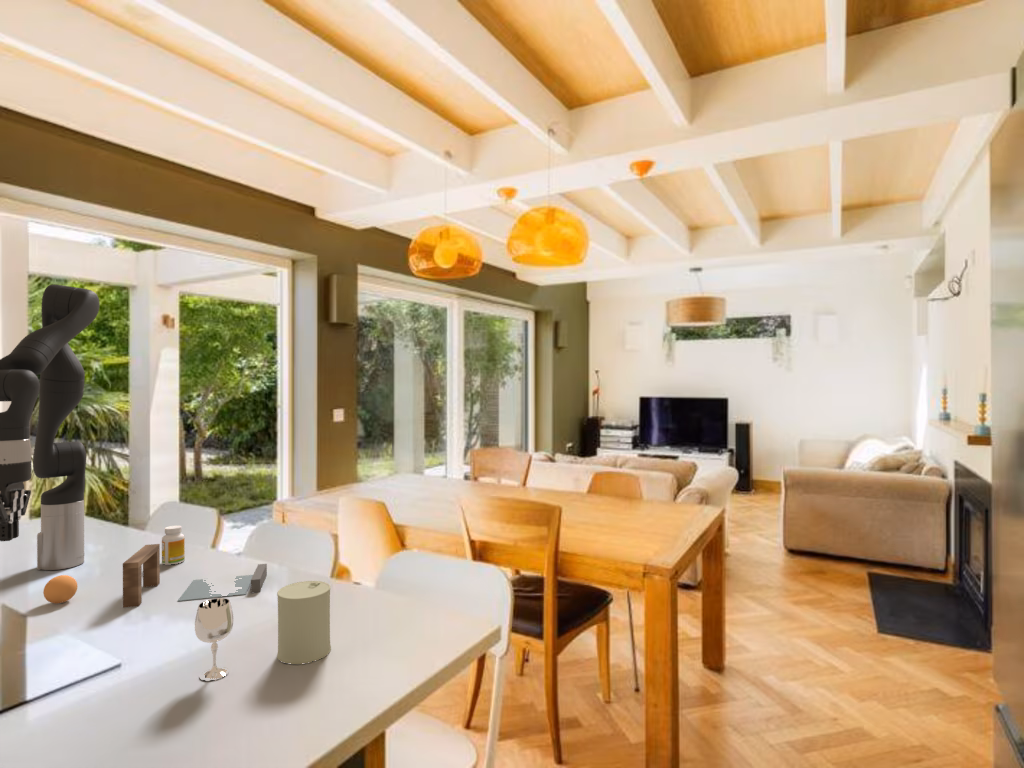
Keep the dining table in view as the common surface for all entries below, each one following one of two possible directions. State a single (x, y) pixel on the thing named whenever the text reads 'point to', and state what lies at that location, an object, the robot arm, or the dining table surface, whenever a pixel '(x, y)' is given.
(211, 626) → the wineglass
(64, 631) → the dining table surface
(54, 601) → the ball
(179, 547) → the supplement bottle
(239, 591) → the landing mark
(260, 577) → the stopper
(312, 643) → the can
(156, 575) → the bridge
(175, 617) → the dining table surface
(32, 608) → the dining table surface
